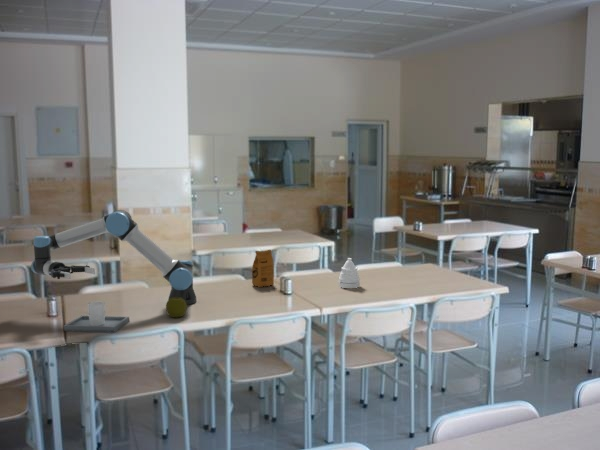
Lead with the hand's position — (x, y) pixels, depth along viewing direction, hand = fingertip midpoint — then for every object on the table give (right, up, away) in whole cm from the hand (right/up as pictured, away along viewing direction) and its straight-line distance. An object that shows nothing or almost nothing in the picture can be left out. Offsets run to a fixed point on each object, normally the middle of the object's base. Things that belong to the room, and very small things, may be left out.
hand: (82, 273), depth 288 cm
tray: (+8, -25, -3) cm, 26 cm away
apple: (+42, -23, +14) cm, 50 cm away
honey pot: (+134, -15, +83) cm, 158 cm away
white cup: (+8, -24, -3) cm, 25 cm away
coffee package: (+81, -15, +86) cm, 119 cm away
